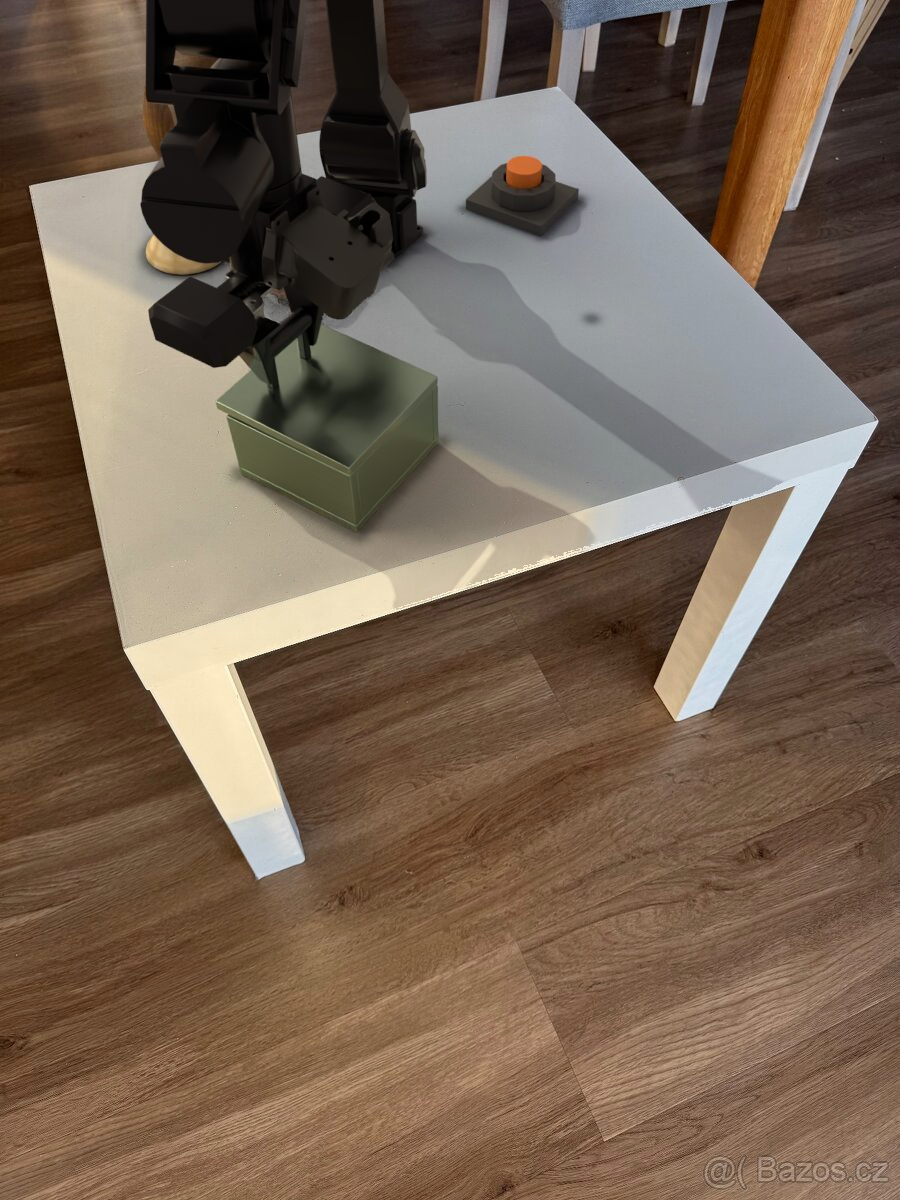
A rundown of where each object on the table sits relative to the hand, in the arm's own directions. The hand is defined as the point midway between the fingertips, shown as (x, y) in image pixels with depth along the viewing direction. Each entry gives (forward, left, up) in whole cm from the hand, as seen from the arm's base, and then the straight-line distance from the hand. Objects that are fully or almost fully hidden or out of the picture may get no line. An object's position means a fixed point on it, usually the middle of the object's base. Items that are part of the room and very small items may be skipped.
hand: (288, 362), depth 72 cm
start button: (-2, +40, -6) cm, 40 cm away
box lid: (+4, 0, -2) cm, 4 cm away
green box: (+4, 0, -8) cm, 9 cm away
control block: (-2, +40, -8) cm, 41 cm away
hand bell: (-26, +15, -8) cm, 31 cm away
